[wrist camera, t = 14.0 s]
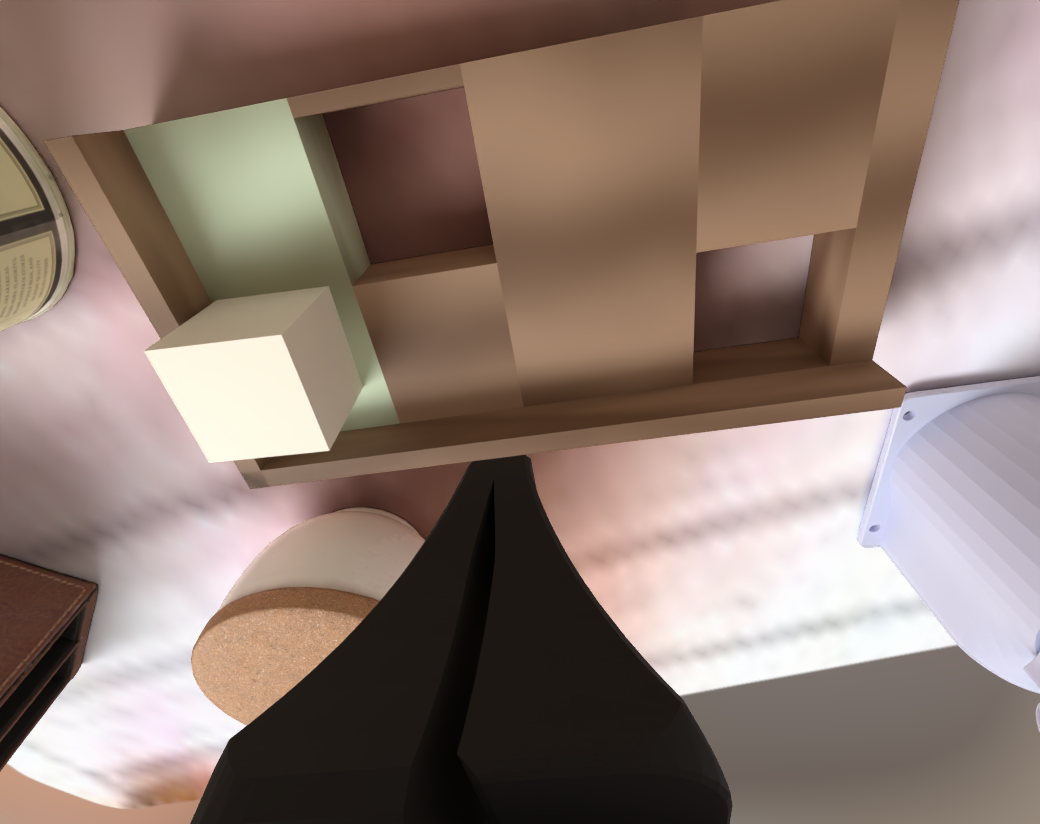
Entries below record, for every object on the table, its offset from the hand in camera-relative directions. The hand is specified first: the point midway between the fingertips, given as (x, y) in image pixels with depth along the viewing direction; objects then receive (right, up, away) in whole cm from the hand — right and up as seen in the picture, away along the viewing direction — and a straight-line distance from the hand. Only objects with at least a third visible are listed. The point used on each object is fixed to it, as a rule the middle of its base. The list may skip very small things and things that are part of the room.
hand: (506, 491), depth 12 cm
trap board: (+1, +8, +7) cm, 11 cm away
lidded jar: (-8, -5, +16) cm, 19 cm away
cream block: (-8, +4, +7) cm, 11 cm away
